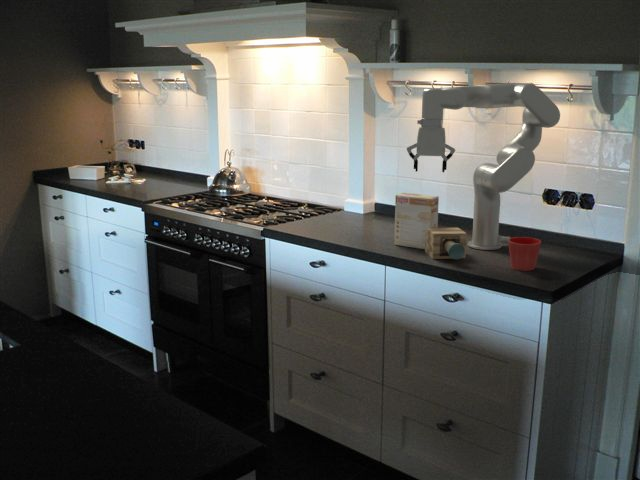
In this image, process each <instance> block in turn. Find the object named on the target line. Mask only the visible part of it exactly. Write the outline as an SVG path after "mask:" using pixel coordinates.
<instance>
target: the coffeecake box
mask: <svg viewBox="0 0 640 480" xmlns="http://www.w3.org/2000/svg"><path fill="white" fill-rule="evenodd" d="M439 201H440V199H439V196H438V195H437V196H436V195H427V194H418V193H407V192H402V193H398V194H396V195H395V203H394V204H395V205H394V206H395V207H394V209H395V210H394V211H395V212H394V235H393V236H394V238H393V241H394V242H393V245H394V246H401V247H407V248H408V247H409V248H415V249H420V250H425V241H426V228H439V225H438V224H439V223H438V222H439Z"/></svg>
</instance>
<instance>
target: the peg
mask: <svg viewBox="0 0 640 480" xmlns="http://www.w3.org/2000/svg"><path fill="white" fill-rule="evenodd" d="M443 248H444V249H445V250H446V251H447V252H448V254H449V256H450V257H451V258H450V259H451V260H460V259H463V258H462V257H463V255H464V253H465V249H464V247H463V246H462V245H461V244H459V243H454V242H453V241H452V240H450V239H443Z"/></svg>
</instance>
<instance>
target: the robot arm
mask: <svg viewBox="0 0 640 480" xmlns="http://www.w3.org/2000/svg"><path fill="white" fill-rule="evenodd" d="M421 99H422V100H421V101H422V102H421V103H422V104H421V118H420V119H417V125H420V127H419V128H418V131H417V138H416V141H417V142H415V143H413V144H412V145H410V146H409V145H408V146H407V147H406V151H407V153H408V156H409V157H410V158H411V159H412V160H413V170H415V172H418V171H419V170H418V167H419V162H418V161H419V160H418V159H419V158H420V156H421V157H423V156H424V157H441V158H442V165H441V166H442V167H441V172H442V173H445V171H446V170H447V168H448V167H447V164H448V161H449V160H450V159H451V158H452V157H453V155H454V154H455V151H456V148H454V147H452V146H451V145H449V144H447V143H446V129H445V127H443V123H444V122H443V121H444V120H443V119H444V109H445V110H452V111H453V110H456V111H457V110H461V109H463V108H476V109H497V108H498V109H499V108H500V109H501V108H515V107H520V108H521V107H522V108H524V109H523V112H522V118H521V119H522V123H521V127H520V130H519V131H518V132H517V134H516V135H515V136H514V137H513V138H511V140H510V141H508V142H507V144H505V145H504V146H503V147H502V148H501V149H500V150H499V151H498V153H497V154H496V163H497V164H496V163H490V162H486V163H481V164H479V165H478V166H477V167H476V168H475V170H474V172H473V175H472V176H473V178H472V181H473V182H472V183H473V189H474V190H473V191H474V202H473V218H472V220H473V222H472V235H471V240H469V241H468V242H467V246H468V247H469V248H471V249H476V250H483V251H492V250H493V251H494V250H499V249H501V248H503V247H502V246H503V244H502V243H504V242H505V243H506V242H507V243H508V240H509V239H510V238H511V237H510V236H504V235H500V234H499V230H500V229H499V226H500V209H501V194H502V193H505V192H507V191H509V190H510V189H512V188H513V187H515V185H516V184H518V183H519V182H520V181H521V180H522V179H523V178H524V177H525V176H526V175H527V174H528V173H530V171H531V170H532V169H533V166H534V165H535V162H536V155H535V153H534V150H535V149H537V147H538V146H539V145H540V143H541V140H542V135H543V128H545V129H546V128H547V129H549V128H553V127H555V126H556V125H558V123H559V122H560V121H561V119H560V118H561V112H560V109H559V108H558V106H557V104H555V103H554V102H553V101H552V100H551V99H550V98H549V96H548V95H547V94H546V93H544V92H543V90H541V89H540V88H539V87H538V86H537V85H535V84H534V83H529V82H528V83H527V82H523V83H522V82H513V83H511V82H510V83H494V84H493V83H492V84H480V85H473V86H472V85H471V86H469V85H468V86H453V87H443V88H424V89H423V91H422V97H421ZM414 149H416V154H414V153H413V152H412V150H414ZM446 149H447V150H448V151H449V153H448V154H447V155H446V154H445V153H446ZM500 193H501V194H500Z"/></svg>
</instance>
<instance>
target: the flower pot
mask: <svg viewBox="0 0 640 480" xmlns="http://www.w3.org/2000/svg"><path fill="white" fill-rule="evenodd" d="M507 243H508V250H509V251H508V253H509V260H510V267H511V269H513V270H516V271H520V272H521V271H522V272H527V271H528V272H530V271H534V270H535V269H536V266H537V262H538V258H539V257H538V256H539V252H540V250H541V249H540V248H541V244H542V240H541V239H538V238H534V237H527V236H514V237H510V239H509V240H508V242H507Z"/></svg>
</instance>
